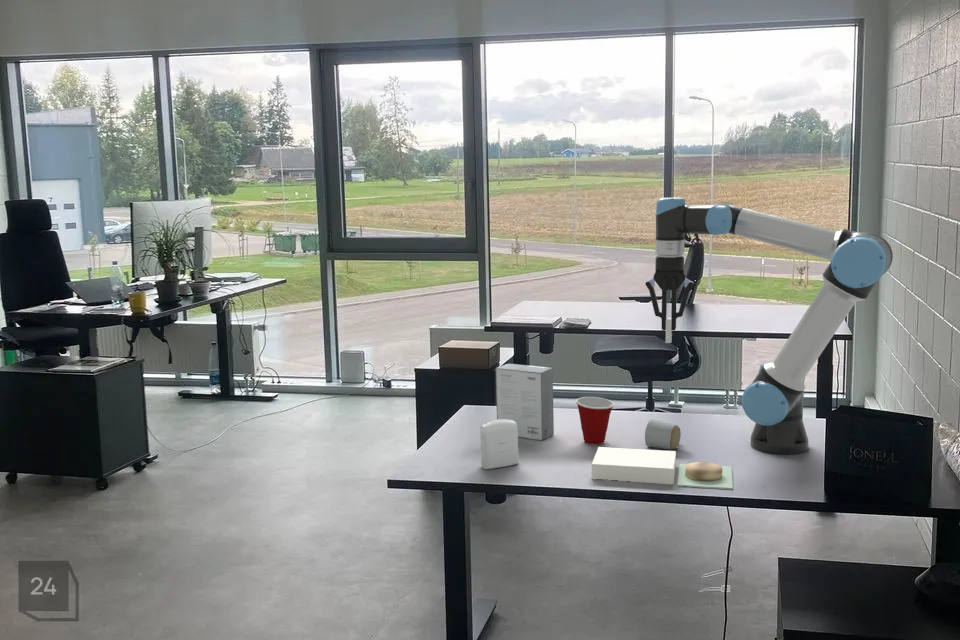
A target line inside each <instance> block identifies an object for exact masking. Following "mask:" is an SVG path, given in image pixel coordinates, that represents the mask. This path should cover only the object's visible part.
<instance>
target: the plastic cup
mask: <svg viewBox="0 0 960 640" xmlns="http://www.w3.org/2000/svg"><path fill="white" fill-rule="evenodd" d="M575 402H576V405H577V409H578V414H579V420H580V427H581V428H580V429H581V431H582V437H583V441H584V443H585V444H587V445H592V444H598V445H602V444H601V443H603V442H604V443H605V441H606V436H607V431H608V426H609V421H610V417H611V413H612V409H613V407H614V406H615V402H614V401H612V400H610V399H607V398H603V397H598V396H597V397H596V396H583V397H579V398H576V399H575ZM604 443H603V444H604Z"/></svg>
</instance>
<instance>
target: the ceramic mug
mask: <svg viewBox="0 0 960 640" xmlns="http://www.w3.org/2000/svg"><path fill="white" fill-rule="evenodd" d="M681 432H682V431H681V428H680V426H679V425H677V424H675V423H671V422H667V421H664V420H663V421H662V420H659V419H654V418H652V419H649V421H648V422H647V424H646V427H645V432H644V442H645V445H646V446H647V447H648V448H649V447H650V448H655V449H660V450H661V449H663V450H666V451H675V449H677V448H678V447H679V444H680V442H681V437H682V436H681Z"/></svg>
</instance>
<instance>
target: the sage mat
mask: <svg viewBox="0 0 960 640" xmlns="http://www.w3.org/2000/svg"><path fill="white" fill-rule="evenodd" d="M687 464H688V463H679V466H678V467H679V468H678V477H677V485H676V486H677V487H683V486H687V487H688V488H698V489H699V488H701V489H703V488H704V489H717V490H729V491H730V490H733V489H734V487H733V485H734V483H733V468H732V466H731V465H729V466H728V465H720V466H721V467H722V478H721V479H718V480H714V481H700V480H694V479H691V478H688V477H687V476H686V475H685V466H686V465H687ZM687 487H686V488H687Z"/></svg>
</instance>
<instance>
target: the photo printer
mask: <svg viewBox="0 0 960 640" xmlns="http://www.w3.org/2000/svg"><path fill="white" fill-rule="evenodd" d="M479 431H480V432H479V433H480V434H479V435H480V436H479V437H480V461H481V462H480V463H481V465H480V466H481V468H482V469H483V470H491V469H497V468H503V467H510V466H515V465H518V464H519V437H518V428H517V424H516V422H514V421H513V420H507V419H500V420H497V419H494V420H491V421H488V422H485V423H483V424H482V425H480V429H479Z"/></svg>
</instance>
